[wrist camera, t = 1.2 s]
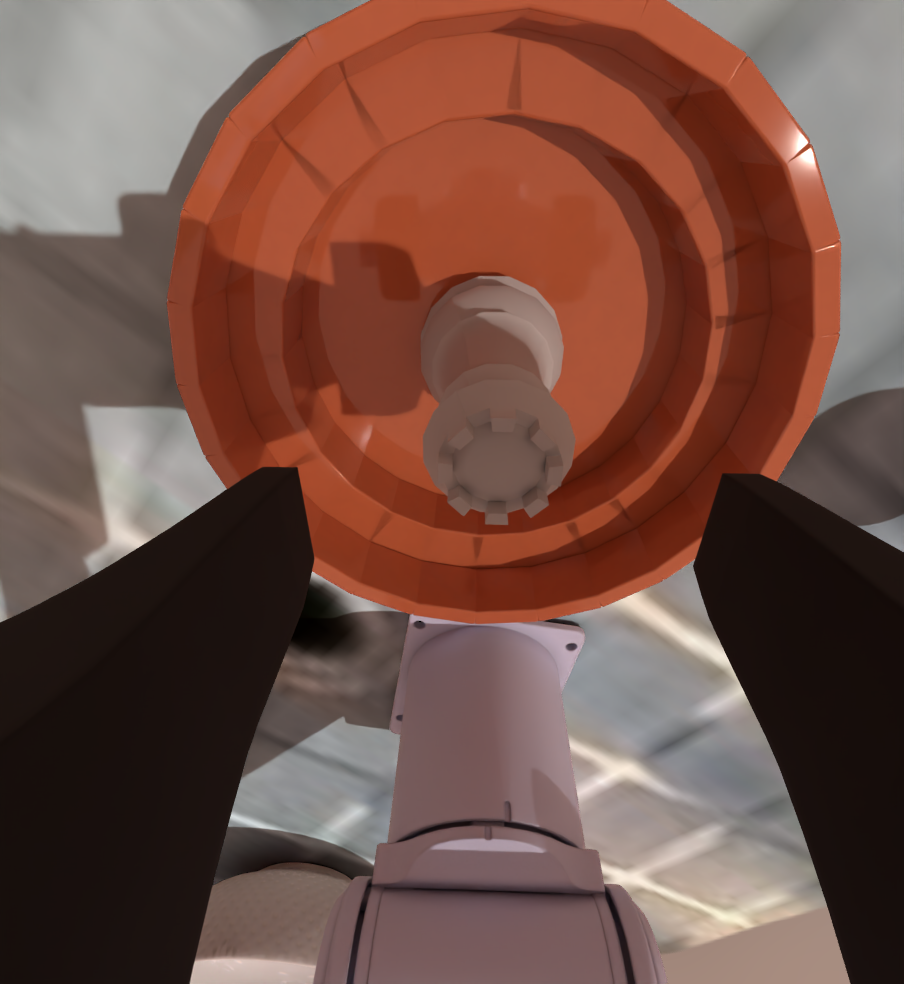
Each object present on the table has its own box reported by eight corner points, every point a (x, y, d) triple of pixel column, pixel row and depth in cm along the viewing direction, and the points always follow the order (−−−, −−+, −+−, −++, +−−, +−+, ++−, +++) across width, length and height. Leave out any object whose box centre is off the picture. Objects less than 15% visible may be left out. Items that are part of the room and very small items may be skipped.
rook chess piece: (393, 323, 17) (342, 444, 11) (516, 239, 16) (546, 318, 9) (468, 430, 19) (465, 588, 13) (584, 365, 18) (650, 504, 11)
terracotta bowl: (640, 563, 23) (675, 654, 19) (248, 501, 22) (198, 585, 18) (865, 89, 14) (1021, 73, 10) (226, -52, 13) (114, -133, 9)
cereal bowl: (424, 840, 37) (415, 976, 31) (414, 936, 46) (405, 1054, 40) (170, 820, 36) (111, 954, 31) (211, 920, 46) (171, 1038, 40)
